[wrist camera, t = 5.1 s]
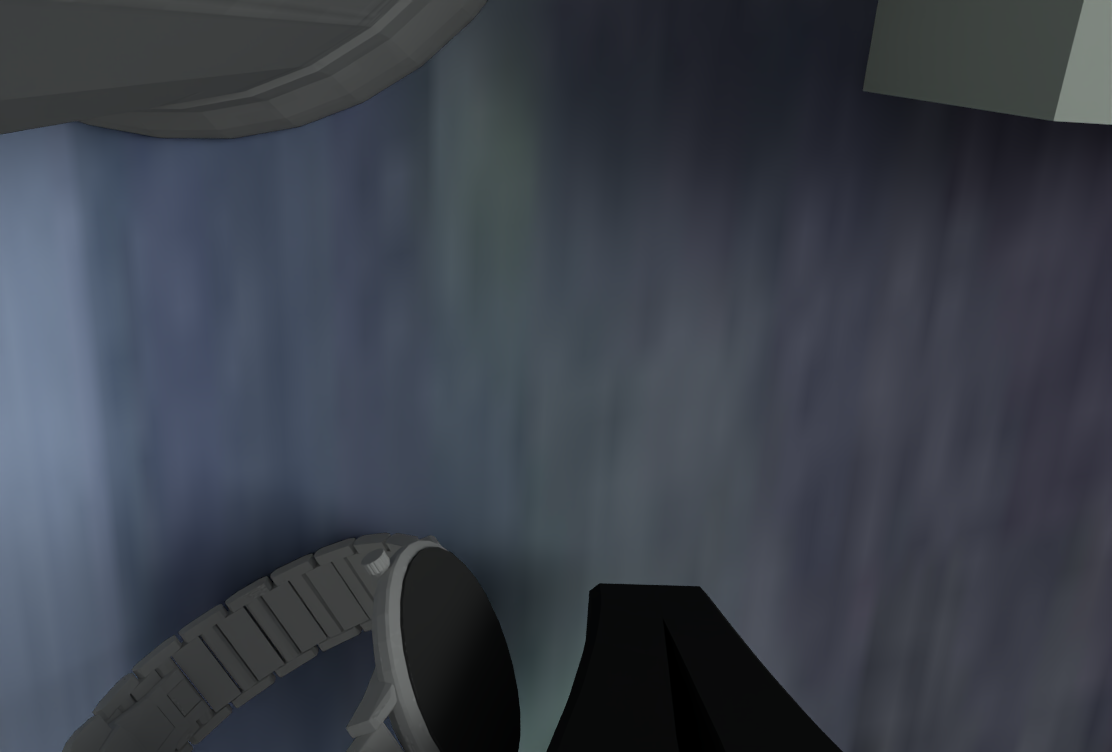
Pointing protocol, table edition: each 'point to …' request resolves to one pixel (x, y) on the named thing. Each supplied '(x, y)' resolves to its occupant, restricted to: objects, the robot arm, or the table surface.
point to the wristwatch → (327, 620)
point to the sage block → (997, 56)
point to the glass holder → (210, 60)
